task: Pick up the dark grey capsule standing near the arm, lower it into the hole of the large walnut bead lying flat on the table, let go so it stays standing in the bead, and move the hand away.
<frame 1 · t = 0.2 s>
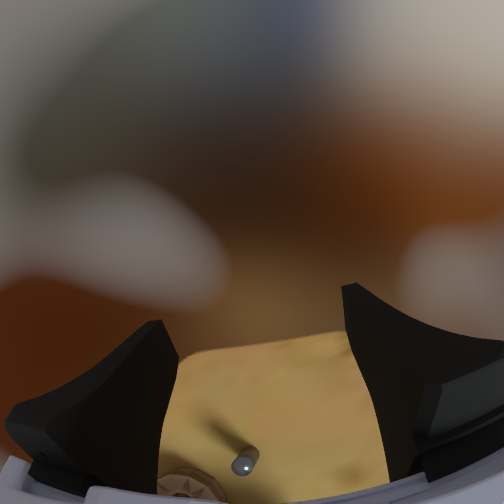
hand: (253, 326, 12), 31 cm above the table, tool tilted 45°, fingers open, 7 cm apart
dark grey capsule: (250, 454, 35), on the table
bead: (192, 497, 33), on the table
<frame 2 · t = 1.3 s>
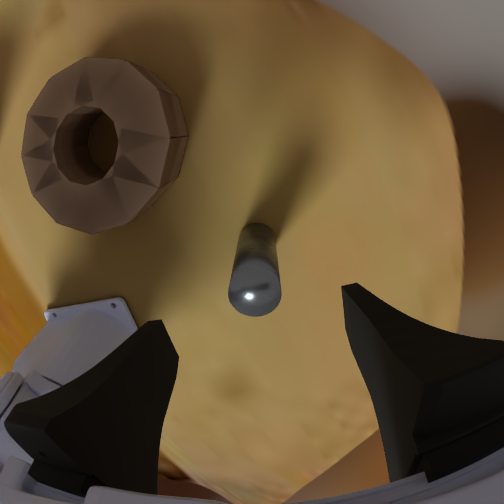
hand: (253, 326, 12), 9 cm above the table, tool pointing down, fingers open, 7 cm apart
dark grey capsule: (256, 240, 20), on the table
bead: (114, 140, 18), on the table
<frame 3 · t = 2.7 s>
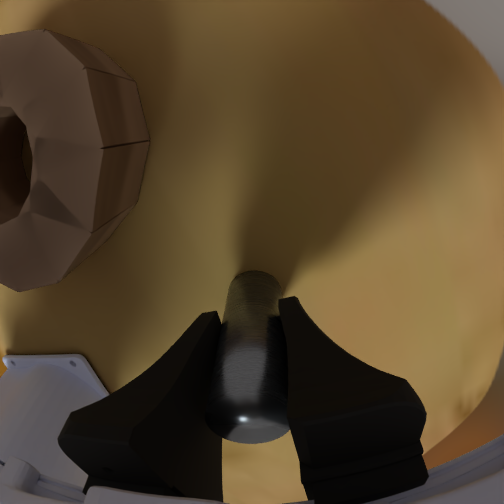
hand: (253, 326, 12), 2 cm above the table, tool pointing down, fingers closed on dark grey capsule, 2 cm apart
dark grey capsule: (254, 294, 14), on the table, touching gripper
bead: (52, 151, 11), on the table
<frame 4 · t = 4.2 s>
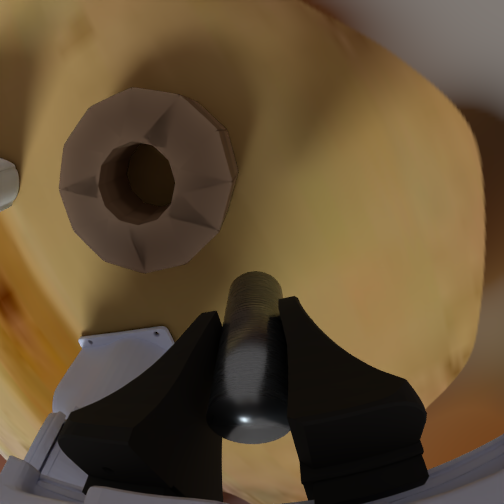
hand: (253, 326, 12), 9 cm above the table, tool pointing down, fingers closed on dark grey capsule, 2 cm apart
dark grey capsule: (255, 295, 14), point 7 cm above the table, touching gripper
bead: (158, 172, 19), on the table
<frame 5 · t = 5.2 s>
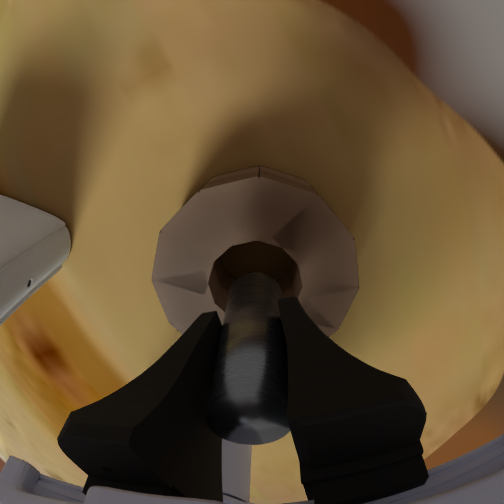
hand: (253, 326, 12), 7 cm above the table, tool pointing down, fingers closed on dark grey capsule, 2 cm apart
white upright block: (24, 224, 18), on the table
dark grey capsule: (255, 296, 14), point 5 cm above the table, touching gripper
bead: (256, 253, 18), on the table
when the fingers open (5 cm above the table, at t = 6.0 s): dark grey capsule drops 2 cm, resting in bead.
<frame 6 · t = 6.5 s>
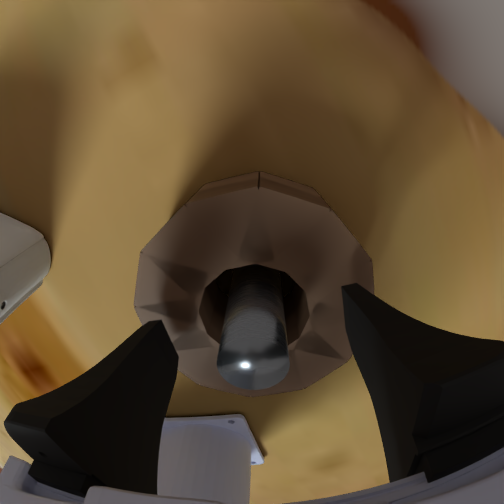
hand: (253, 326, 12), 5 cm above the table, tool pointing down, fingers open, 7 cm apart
white upright block: (3, 235, 16), on the table
dark grey capsule: (256, 272, 16), resting in bead
bead: (255, 271, 16), on the table
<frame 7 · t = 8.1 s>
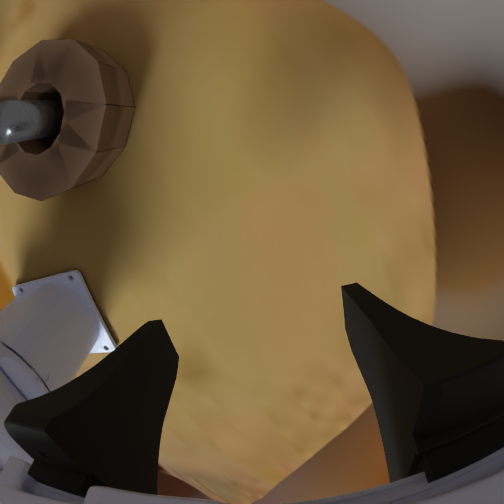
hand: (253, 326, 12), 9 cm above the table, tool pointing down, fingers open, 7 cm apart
dark grey capsule: (71, 117, 17), resting in bead
bead: (70, 116, 17), on the table
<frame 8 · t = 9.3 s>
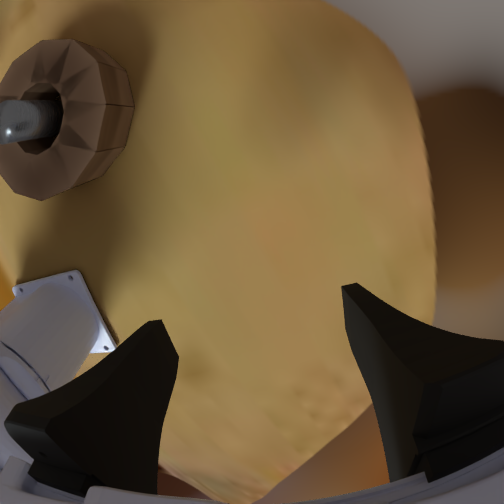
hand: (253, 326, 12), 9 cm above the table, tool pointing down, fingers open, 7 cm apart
dark grey capsule: (71, 117, 17), resting in bead
bead: (70, 116, 17), on the table
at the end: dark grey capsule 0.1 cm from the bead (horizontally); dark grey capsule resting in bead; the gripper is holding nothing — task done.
